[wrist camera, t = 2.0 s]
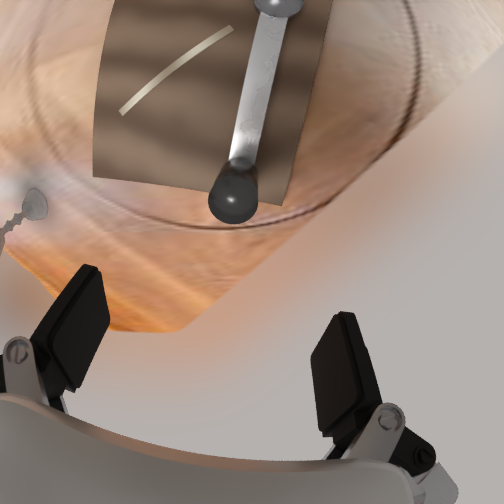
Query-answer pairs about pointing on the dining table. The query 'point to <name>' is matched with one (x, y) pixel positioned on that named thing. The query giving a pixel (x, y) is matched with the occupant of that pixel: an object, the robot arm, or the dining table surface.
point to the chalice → (26, 212)
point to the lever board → (197, 92)
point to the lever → (251, 116)
